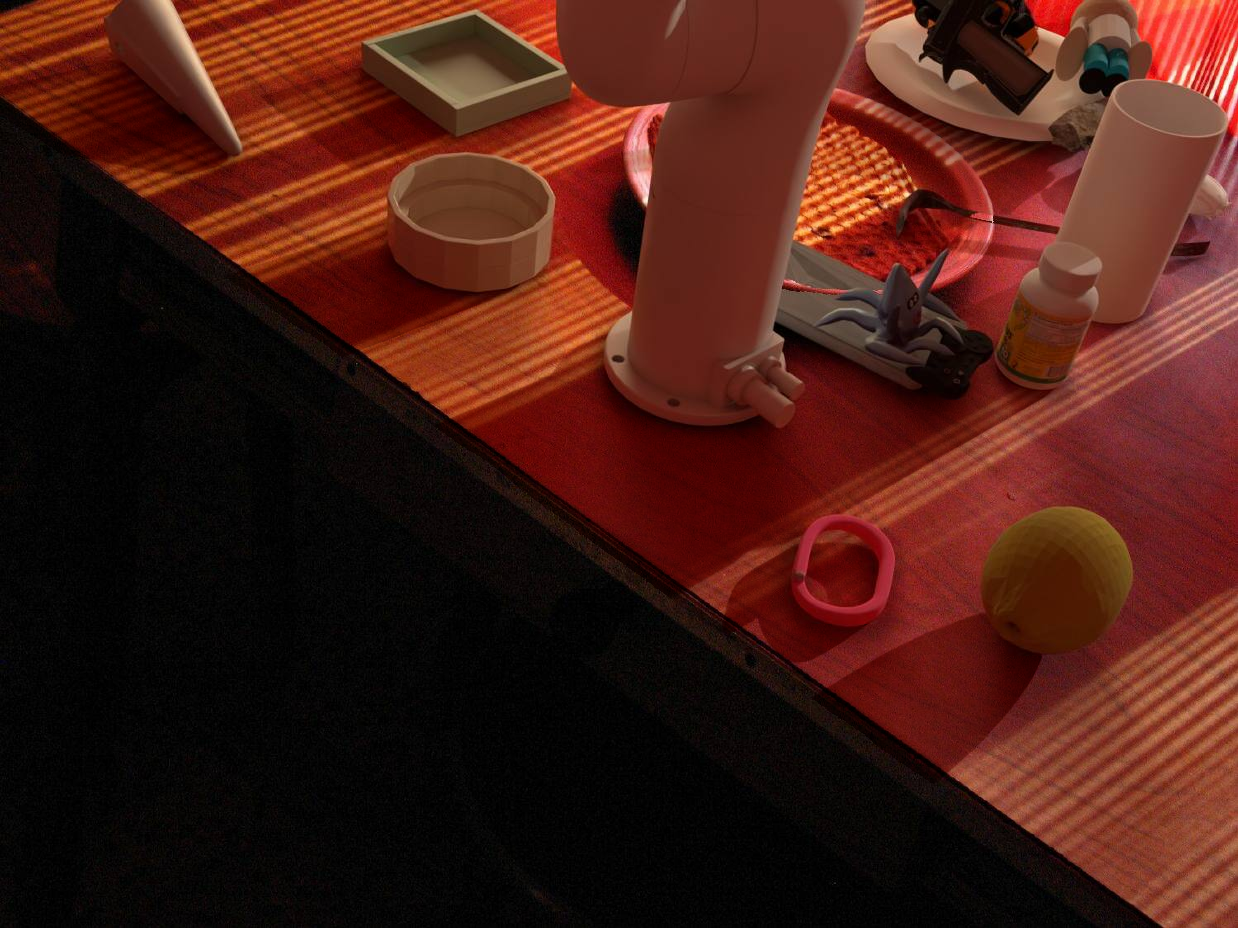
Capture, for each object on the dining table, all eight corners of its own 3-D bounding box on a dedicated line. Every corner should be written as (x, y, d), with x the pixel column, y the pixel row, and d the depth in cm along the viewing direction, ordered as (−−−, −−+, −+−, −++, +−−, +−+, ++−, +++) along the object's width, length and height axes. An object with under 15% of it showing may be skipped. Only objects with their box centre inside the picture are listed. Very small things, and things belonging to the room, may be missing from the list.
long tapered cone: (295, 97, 109) (168, -20, 117) (224, 127, 106) (99, 5, 114) (303, 154, 114) (180, 37, 122) (234, 185, 111) (113, 63, 119)
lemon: (1034, 548, 87) (1077, 455, 81) (1137, 628, 83) (1189, 536, 77) (920, 624, 81) (958, 529, 76) (1025, 713, 77) (1072, 620, 72)
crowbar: (902, 213, 109) (899, 180, 113) (894, 237, 111) (892, 204, 115) (1225, 268, 109) (1212, 233, 113) (1213, 291, 111) (1200, 256, 115)
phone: (728, 284, 102) (726, 298, 103) (921, 381, 96) (916, 394, 97) (786, 235, 107) (783, 249, 107) (973, 324, 101) (968, 338, 101)
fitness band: (805, 517, 86) (810, 500, 85) (897, 543, 86) (903, 526, 85) (780, 612, 81) (785, 595, 80) (878, 640, 80) (885, 623, 79)
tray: (570, 98, 122) (573, 71, 120) (455, 137, 115) (456, 109, 113) (475, 35, 129) (476, 9, 127) (361, 69, 122) (361, 41, 120)
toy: (1071, 37, 123) (1070, -28, 134) (1048, 98, 127) (1049, 30, 138) (1165, 59, 122) (1157, -8, 133) (1139, 119, 127) (1133, 49, 137)
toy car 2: (904, 66, 129) (906, 90, 132) (1038, 58, 126) (1037, 84, 129) (912, -27, 135) (914, -2, 138) (1041, -36, 131) (1040, -10, 134)
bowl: (583, 260, 104) (588, 210, 101) (455, 316, 98) (456, 263, 95) (484, 187, 110) (486, 137, 107) (357, 234, 104) (355, 182, 100)
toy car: (1113, 151, 125) (1126, 117, 122) (1234, 211, 119) (1249, 177, 117) (1084, 169, 122) (1096, 135, 120) (1206, 232, 117) (1221, 197, 114)
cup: (1146, 275, 111) (1226, 94, 100) (1146, 334, 105) (1232, 148, 94) (1043, 251, 112) (1112, 69, 101) (1038, 308, 106) (1110, 121, 95)
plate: (849, 121, 124) (853, 104, 123) (872, 6, 142) (876, -10, 141) (1129, 179, 122) (1136, 162, 121) (1117, 54, 140) (1123, 39, 139)
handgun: (1117, -51, 127) (995, -95, 130) (1031, 110, 122) (906, 61, 125) (1111, -33, 129) (991, -76, 132) (1026, 126, 125) (904, 78, 128)
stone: (1107, 106, 128) (1109, 76, 126) (1157, 115, 125) (1160, 85, 123) (1030, 155, 121) (1032, 123, 119) (1082, 166, 118) (1084, 134, 116)
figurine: (832, 301, 102) (871, 208, 98) (983, 371, 100) (1030, 279, 96) (794, 349, 95) (835, 251, 90) (956, 426, 92) (1006, 329, 88)
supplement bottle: (1058, 401, 98) (1105, 291, 91) (985, 376, 99) (1026, 265, 92) (1072, 360, 101) (1118, 251, 95) (1001, 336, 103) (1042, 227, 96)
